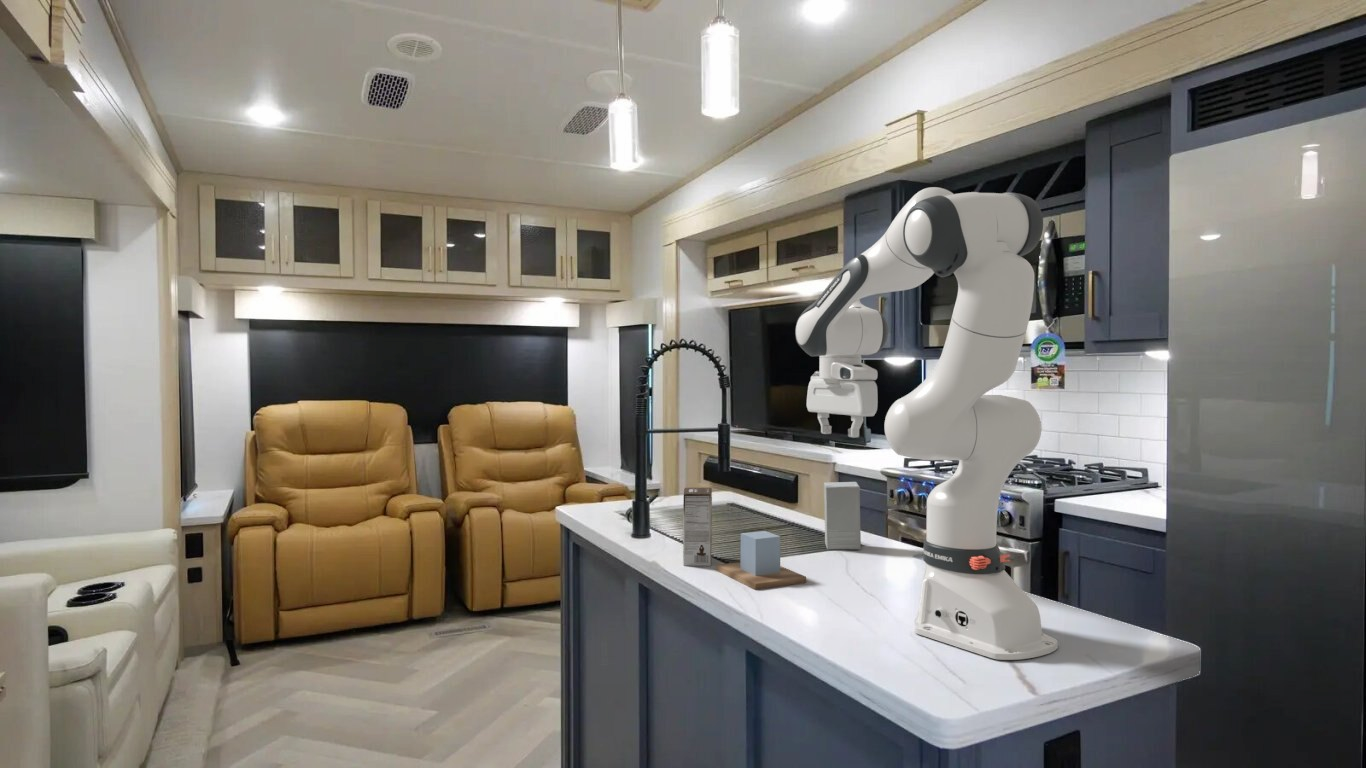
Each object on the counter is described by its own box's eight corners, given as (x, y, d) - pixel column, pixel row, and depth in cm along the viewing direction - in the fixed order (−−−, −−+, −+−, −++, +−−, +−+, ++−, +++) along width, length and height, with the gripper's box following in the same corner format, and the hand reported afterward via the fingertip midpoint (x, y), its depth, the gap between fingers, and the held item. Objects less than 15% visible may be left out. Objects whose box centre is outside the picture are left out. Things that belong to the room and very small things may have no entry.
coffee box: (683, 556, 175) (683, 486, 175) (711, 556, 175) (711, 487, 175) (682, 566, 166) (683, 493, 166) (711, 566, 166) (712, 493, 166)
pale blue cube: (780, 572, 157) (780, 536, 156) (755, 575, 154) (755, 539, 154) (764, 565, 162) (764, 530, 162) (740, 568, 159) (740, 533, 159)
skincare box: (857, 544, 188) (857, 481, 187) (861, 551, 181) (861, 485, 180) (822, 543, 189) (823, 480, 188) (825, 550, 181) (825, 484, 181)
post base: (806, 582, 153) (806, 549, 153) (755, 589, 148) (755, 555, 148) (764, 564, 168) (764, 534, 168) (716, 570, 163) (716, 539, 162)
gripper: (800, 371, 171) (799, 432, 171) (858, 371, 152) (858, 439, 152) (822, 371, 173) (822, 431, 173) (883, 371, 155) (882, 438, 155)
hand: (839, 435), depth 163 cm, fingers open, 8 cm apart
